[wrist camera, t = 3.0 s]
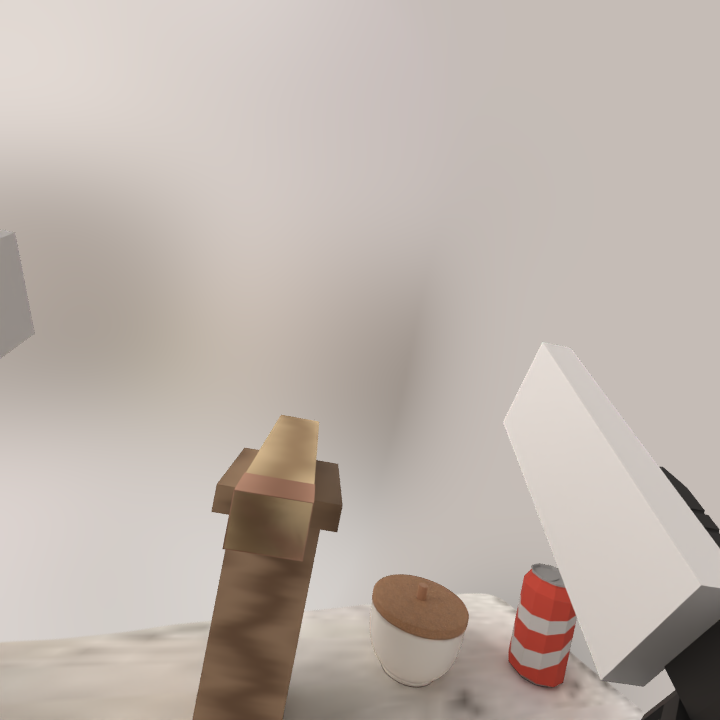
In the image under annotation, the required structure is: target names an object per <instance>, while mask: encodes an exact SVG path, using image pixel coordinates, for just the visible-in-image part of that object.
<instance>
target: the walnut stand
mask: <svg viewBox="0 0 720 720" xmlns="http://www.w3.org/2000/svg"><path fill="white" fill-rule="evenodd" d="M258 452H259V450H255V449H249V448H244V449H243V451H242V452H241V453H240V455H239V456H238V457H237V459H236V460H235V461H234V463H233V464H232V465H231V466H230V468H229V469H228V470H227V472H226V473H225V474H224V476H223V477H222V478H221V480H220V481H219V482H218V483H217V486H216V491H215V496H214V502H213V507H212V512H216V513H222V514H228V515H229V513H230V508H231V503H232V498H233V492H234V489H235V487H236V486H237V484H238V482H239V481H240V479H241V477H242V476H243V474H244V473H245V472H247V470H248V468H249V467H250V465H251V463H252V462H253V460H254V458H255V457H256V455H257V453H258ZM314 484H315V496H314V506H313V511H312V516H311V521H310V526H309V531H308V536H307V541H306V546H305V551H304V556H303V561H297V560H290V559H284V558H277V557H271V556H265V555H258V554H252V553H245V552H239V551H233V550H226V549H225V555H224V560H223V565H222V570H221V576H220V580H219V586H218V591H217V596H216V601H215V606H214V611H213V617H212V622H211V627H210V632H209V637H208V642H207V648H206V653H205V658H204V663H203V668H202V673H201V678H200V684H199V689H198V694H197V699H196V704H195V709H194V715H193V720H282V719H283V714H284V709H285V704H286V699H287V694H288V689H289V683H290V678H291V673H292V668H293V663H294V658H295V653H296V648H297V643H298V638H299V633H300V628H301V623H302V618H303V613H304V608H305V603H306V598H307V592H308V588H309V583H310V578H311V572H312V568H313V562H314V557H315V552H316V547H317V542H318V537H319V532H320V529H321V530H326V531H333V532H337V530H338V525H339V520H340V515H341V510H342V497H341V487H340V478H339V469H338V464H335V463H329V462H323V461H318V460H316V469H315V482H314Z"/></svg>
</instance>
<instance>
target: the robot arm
mask: <svg viewBox="0 0 720 720" xmlns="http://www.w3.org/2000/svg"><path fill="white" fill-rule="evenodd" d="M34 333H35V332H34V327H33V322H32V317H31V312H30V307H29V302H28V296H27V292H26V286H25V281H24V277H23V271H22V266H21V261H20V255H19V251H18V245H17V240H16V235H15V232H10V231H6V230H1V229H0V358H2V357H3V356H5V355H6V354H7V353H9V352H10V351H12V350H13V349H14V348H16V347H17V346H18V345H20V344H21V343H23V342H24V341H25V340H27V339H28V338H29V337H31V336H32V335H33V334H34ZM503 423H504V426H505V429H506V431H507V434H508V437H509V440H510V442H511V445H512V447H513V450H514V453H515V455H516V458H517V460H518V463H519V466H520V469H521V471H522V474H523V476H524V479H525V482H526V484H527V487H528V490H529V492H530V495H531V498H532V500H533V503H534V505H535V508H536V511H537V513H538V516H539V519H540V521H541V524H542V526H543V529H544V532H545V534H546V537H547V540H548V542H549V545H550V547H551V550H552V553H553V555H554V558H555V561H556V563H557V566H558V569H559V572H560V574H561V577H562V579H563V582H564V585H565V587H566V590H567V593H568V595H569V598H570V601H571V603H572V606H573V609H574V611H575V614H576V616H577V619H578V621H579V624H580V627H581V630H582V632H583V635H584V638H585V640H586V643H587V646H588V648H589V651H590V653H591V656H592V658H593V661H594V664H595V666H596V669H597V672H598V675H599V677H600V680H601V681H608V682H615V683H622V684H629V685H636V686H645V685H646V684H647V683H648V682H650V681H651V680H652V679H653V678H654V677H655V676H657V675H658V674H659V673H660V672H661V671H663V670H664V669H666V671H667V673H668V675H669V677H670V679H671V681H672V683H673V685H674V687H675V689H676V690H675V691H674V692H672V693H671V694H670V695H669V696H667V697H666V698H665V699H664V700H662V701H661V702H660V703H658V704H657V705H656V706H655V707H653V708H652V709H651V710H650V711H648V712H647V713H646V714H644V716H643V718H642V719H641V720H720V534H719V528H718V527H717V526H716V525H715V523H714V522H713V521H712V519H711V518H710V517H709V515H705V514H704V511H705V510H704V509H703V508H702V507H701V505H700V504H699V503H698V501H697V500H696V499H695V497H694V496H693V495H692V494H691V492H690V491H689V490H688V489H687V488H686V487H685V486H684V485H683V484H682V483H681V482H680V481H678V480H677V479H676V478H675V477H674V476H673V475H672V474H670V473H669V472H668V471H667V470H666V469H665V468H663V467H659V466H658V465H657V463H656V462H655V461H654V459H653V458H652V457H651V456H650V454H649V453H648V451H647V450H646V449H645V447H644V446H643V445H642V443H641V442H640V441H639V439H638V438H637V437H636V435H635V434H634V433H633V431H632V430H631V428H630V427H629V426H628V425H627V423H626V422H625V420H624V419H623V418H622V416H621V415H620V414H619V412H618V411H617V410H616V408H615V407H614V406H613V404H612V403H611V402H610V400H609V399H608V398H607V396H606V395H605V393H604V392H603V391H602V389H601V388H600V387H599V386H598V384H597V383H596V381H595V380H594V379H593V377H592V376H591V375H590V373H589V372H588V371H587V370H586V368H585V367H584V365H583V364H582V363H581V361H580V360H579V359H578V357H577V356H576V355H575V353H574V352H573V351H572V349H571V348H570V347H566V346H561V345H555V344H551V343H546V342H542V344H541V346H540V348H539V350H538V352H537V355H536V356H535V359H534V360H533V362H532V364H531V367H530V368H529V370H528V372H527V375H526V377H525V379H524V381H523V383H522V385H521V387H520V389H519V391H518V393H517V395H516V397H515V399H514V401H513V403H512V405H511V407H510V409H509V411H508V413H507V415H506V417H505V419H504V421H503Z"/></svg>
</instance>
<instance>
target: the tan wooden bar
mask: <svg viewBox="0 0 720 720" xmlns="http://www.w3.org/2000/svg"><path fill="white" fill-rule="evenodd" d="M318 429H319V422H318V421H312V420H307V419H301V418H296V417H291V416H285V415H281V416H280V417H279V419H278V421H277V422H276V424H275V426H274V427H273V429H272V431H271V432H270V434H269V435H268V437H267V439H266V440H265V442H264V444H263V445H262V447H261V449H260V450H259V452H258V453H257V455H256V457H255V458H254V460H253V462H252V463H251V465H250V467H249V468H248V470H247V472H245V473H244V474H243V476H242V477H241V479H240V481H239V482H238V484H237V486H236V487H235V489H234V492H233V498H232V503H231V508H230V513H229V518H228V524H227V529H226V534H225V539H224V544H223V549H226V550H233V551H239V552H245V553H252V554H258V555H265V556H271V557H277V558H284V559H290V560H297V561H303V556H304V551H305V546H306V541H307V536H308V531H309V526H310V521H311V516H312V511H313V506H314V496H315V484H314V482H315V469H316V455H317V442H318Z"/></svg>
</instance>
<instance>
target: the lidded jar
mask: <svg viewBox="0 0 720 720" xmlns="http://www.w3.org/2000/svg"><path fill="white" fill-rule="evenodd" d="M468 619H469V615H468V611H467V608H466V606H465V605H464V603H463V602H462V601H461V600H460V598H459V597H458V596H456V595H455V594H454V593H453V592H451V591H450V590H448V589H447V588H445V587H443V586H442V585H440V584H437V583H435V582H433V581H430V580H428V579H424V578H421V577H417V576H412V575H403V574H402V575H401V574H400V575H390V576H386V577H384V578H382V579H380V580H379V581H378V582H377V583H376V584H375V586H374V589H373V595H372V605H371V611H370V622H369V628H370V638H371V643H372V646H373V649H374V652H375V654H376V656H377V657H378V659H379V661H380V662H381V665H382V667H383V669H384V671H385V672H386V673H387V674H388V675H389V676H390V677H391V678H392V679H394V680H395V681H397V682H399V683H401V684H404V685H407V686H412V687H422V686H426V685H428V684H429V683H431V682H432V681H434V680H436V679H438V678H440V677H441V676H442V675H444V674H445V673H446V672H447V671H448V670H449V669H450V667H451V666H452V665H453V663H454V662H455V660H456V658H457V656H458V653H459V650H460V647H461V645H462V641H463V637H464V633H465V630H466V627H467V624H468Z"/></svg>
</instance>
